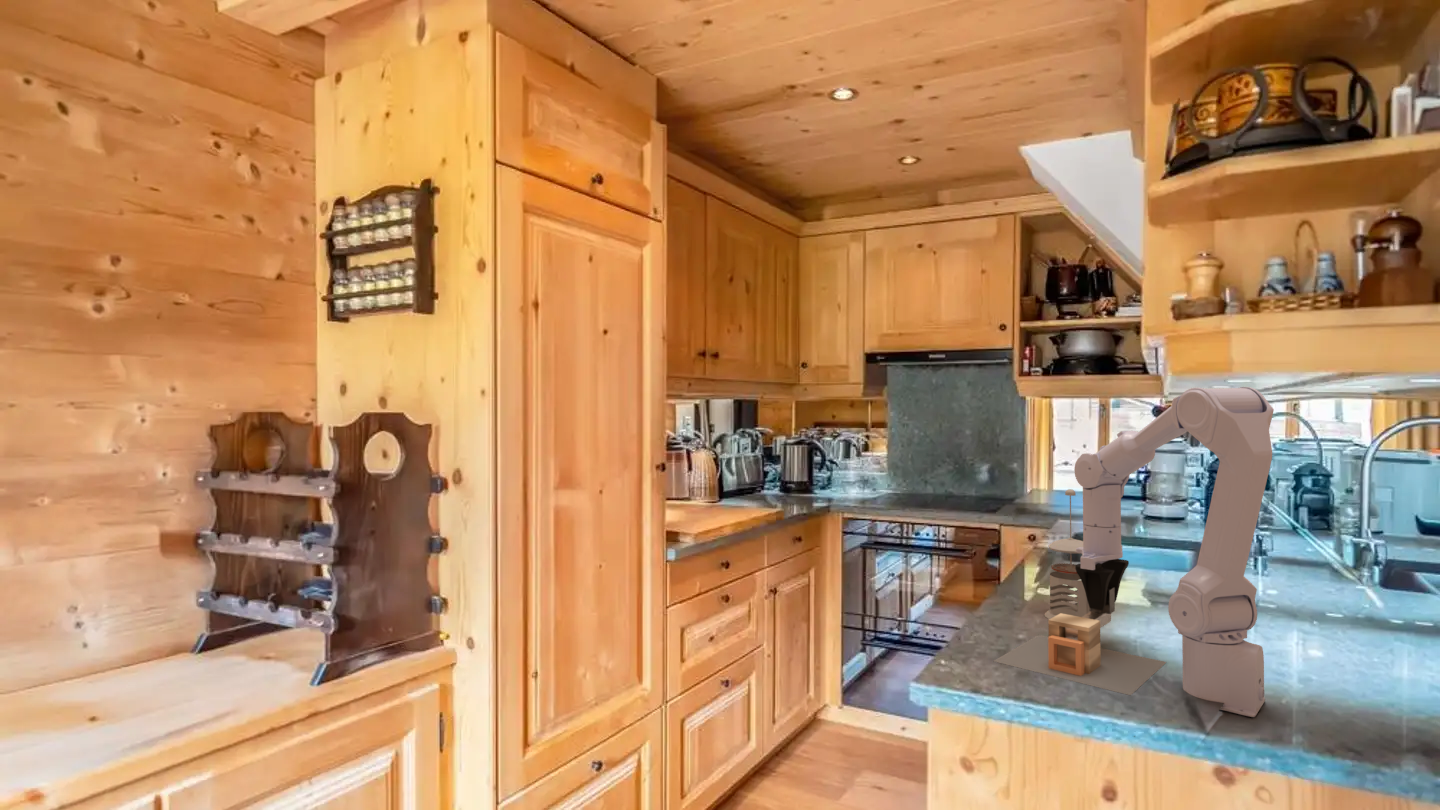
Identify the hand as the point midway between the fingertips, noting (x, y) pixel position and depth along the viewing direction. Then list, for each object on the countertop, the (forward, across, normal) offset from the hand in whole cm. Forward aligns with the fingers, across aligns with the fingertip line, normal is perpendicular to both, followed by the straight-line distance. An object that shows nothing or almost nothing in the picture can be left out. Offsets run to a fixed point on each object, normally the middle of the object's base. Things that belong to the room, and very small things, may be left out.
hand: (1102, 605), depth 126 cm
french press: (+8, -16, -10) cm, 20 cm away
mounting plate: (+8, +11, 0) cm, 13 cm away
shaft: (+3, +6, 0) cm, 7 cm away
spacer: (+7, +16, 0) cm, 18 cm away
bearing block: (+7, +13, 0) cm, 15 cm away
